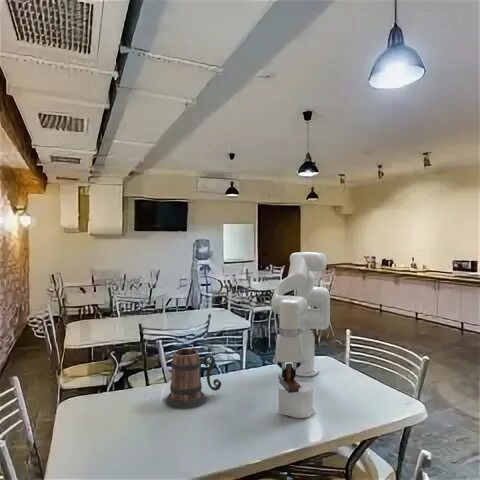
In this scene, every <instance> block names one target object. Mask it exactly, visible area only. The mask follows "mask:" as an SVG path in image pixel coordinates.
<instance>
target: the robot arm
mask: <svg viewBox="0 0 480 480" xmlns="http://www.w3.org/2000/svg"><path fill="white" fill-rule="evenodd" d="M326 255H327V254H326V253H324V252H315V251H312V252H311V251H299V252H293V253H291V254H290V256H289V269H288V273H287V276H286V277H285V278H283V279H282V280H281V281H279V282H278V283H277V285H276V286H275V288H274V290H273V293H272V298H271V303H270V305H271V306H270V307H271V311H272V312H273V314H277V315H279V328H278V329H279V332H278V334H277V335H276V340H275V353H274V356H273V358H272V364H275V365H277V366H278V367H279V368H280V370H281V375H282V378H284V381H286V363H292V380H293V381H294V379H296V378H297V376H298V377H299V376H300V377H314V376H317V374H318V369H317V368H316V367H315V351H316V350H315V349H316V348H315V347H316V345H315V343H316V342H315V341H316V339H315V338H316V337H315V334H314V333H313V331H312V330H313V329H315V330H327V329H328V328H329V327H330V323H331V293H330V290H329V289H328V288H327V287H325V286H324V287H323V286H315V275H314V273H313V272H319V273H322V272H325V270H326V269H327V267H328V258H327V256H326ZM295 290H296V295H285V294H287V293H289V292H293V291H295ZM308 307H310V308H308ZM311 307H318V308H311Z"/></svg>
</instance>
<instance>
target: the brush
mask: <svg viewBox="0 0 480 480" xmlns="http://www.w3.org/2000/svg"><path fill="white" fill-rule="evenodd" d="M292 367H293V363H292V362H286V363H285V368H286V381H284V378H282V374H278V376H277V377H278V378H277V379H278V383H279V384H280V385H281V387H282V388H283V389H284V390H285V389H286V390H287V392H288V393H293V392H299V388H300V384H299V383H298V382H299V381H297V380H296V378H294V381H293V380H292Z"/></svg>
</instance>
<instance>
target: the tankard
mask: <svg viewBox="0 0 480 480" xmlns="http://www.w3.org/2000/svg"><path fill="white" fill-rule="evenodd" d="M210 358H211V360H210V363H209V365H208V359H210ZM215 361H216V360H215V357H214V356H213V355H212V354H210V353H208V354H206V355H205V356H204V357H202V360H201V359H200V354H199V351H198V350H197V349H192V348H186V347H185V348H179V349H177V350H175V351H174V352H173V355H172V360H171V365H170V366H171V378H170V379H171V381H170V387H169V391H170V392H169V394H168V396H167V397H166V398H165V404H166V405H167V406H168V407H170V408H173V409H178V410H189V409H195V408H198V407H200V406H203V405H204V404H206V402H207V397H206V396H205V394H204V392H203V391H202V388H203V385H202V380H201V379H202V377H201V365H202V363H203V365H204V366H205V367H206V368H207V370H206V382H207V386H208V387H209V388H210V389H211V391H214V392H217V391H218V390H220V389H221V387H222V382H221V381H220V379H219V378H216V379H215V378H214V380H213V382H212V384H213V385H214V386H212V384H211V379H210V378H211V372H212V370H213V368H214V366H215Z"/></svg>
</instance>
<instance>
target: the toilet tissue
mask: <svg viewBox="0 0 480 480" xmlns="http://www.w3.org/2000/svg"><path fill="white" fill-rule="evenodd" d="M297 382H298V383H299V384H300V388H299V392H293V393H288V392H287V390H286V389H285V388H284V389H283V388H278V403H277V404H278V406H277V407H278V408H277V409H278V411H277V412H278V413H279V414H281V415H285V416H289V417H291V418H296V419H305V418H309V417H311V416H312V415H313V412H314V411H313V407H314V406H313V404H314V402H313V401H314V400H313V399H314V397H313V395H314V387H313V385H311V384H310V383H309V382H304V381H297Z"/></svg>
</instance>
